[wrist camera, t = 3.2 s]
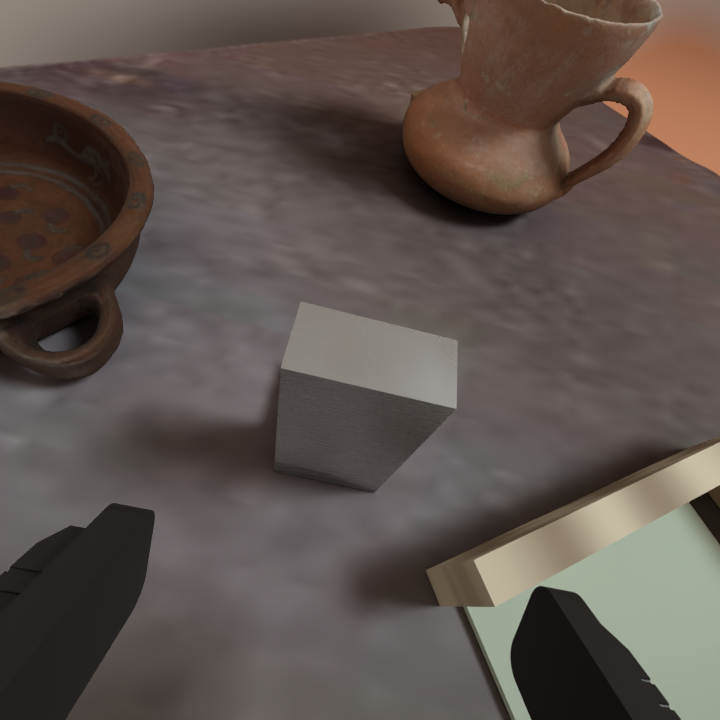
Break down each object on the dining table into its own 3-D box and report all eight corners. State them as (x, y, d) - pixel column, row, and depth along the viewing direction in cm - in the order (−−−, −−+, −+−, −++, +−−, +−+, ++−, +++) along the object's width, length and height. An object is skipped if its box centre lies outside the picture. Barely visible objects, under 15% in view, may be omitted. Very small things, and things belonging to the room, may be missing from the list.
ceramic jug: (348, 154, 34) (396, -85, 22) (438, 108, 41) (510, -90, 29) (522, 279, 31) (690, 78, 19) (586, 205, 38) (736, 25, 26)
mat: (674, 492, 23) (680, 490, 23) (925, 842, 16) (938, 847, 16) (461, 602, 18) (465, 602, 17) (707, 1180, 11) (721, 1198, 11)
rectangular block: (374, 492, 19) (456, 408, 11) (274, 471, 19) (280, 368, 11) (387, 387, 23) (458, 261, 14) (302, 367, 22) (324, 225, 14)
